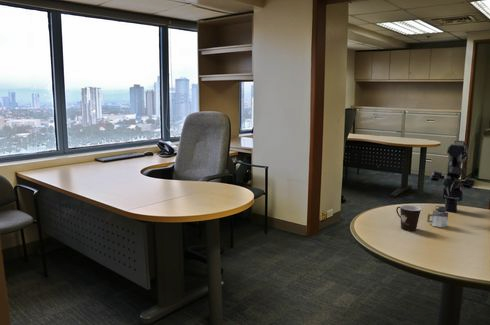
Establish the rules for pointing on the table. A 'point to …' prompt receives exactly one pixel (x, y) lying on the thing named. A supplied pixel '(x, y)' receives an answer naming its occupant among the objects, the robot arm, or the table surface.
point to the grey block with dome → (438, 219)
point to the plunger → (440, 209)
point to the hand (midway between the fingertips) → (449, 195)
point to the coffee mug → (409, 217)
